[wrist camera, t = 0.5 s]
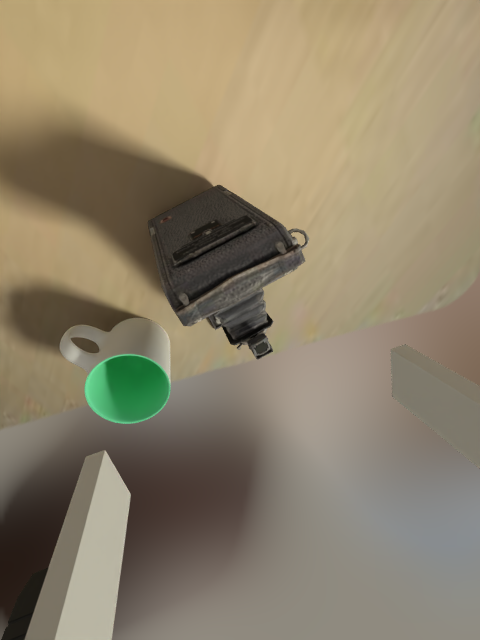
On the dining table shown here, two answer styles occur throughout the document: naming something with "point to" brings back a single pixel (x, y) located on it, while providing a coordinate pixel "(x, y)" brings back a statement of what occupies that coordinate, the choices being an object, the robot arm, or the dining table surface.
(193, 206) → the camera
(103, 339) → the mug
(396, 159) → the dining table surface
